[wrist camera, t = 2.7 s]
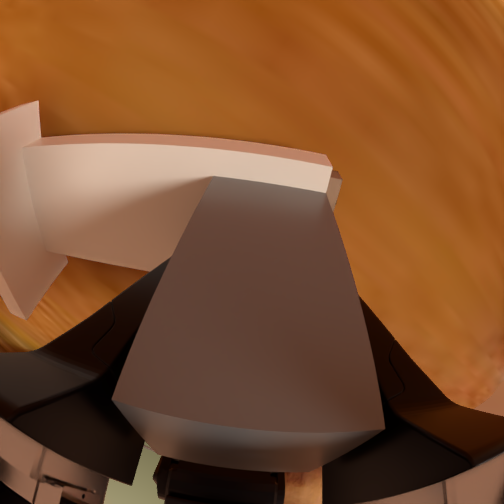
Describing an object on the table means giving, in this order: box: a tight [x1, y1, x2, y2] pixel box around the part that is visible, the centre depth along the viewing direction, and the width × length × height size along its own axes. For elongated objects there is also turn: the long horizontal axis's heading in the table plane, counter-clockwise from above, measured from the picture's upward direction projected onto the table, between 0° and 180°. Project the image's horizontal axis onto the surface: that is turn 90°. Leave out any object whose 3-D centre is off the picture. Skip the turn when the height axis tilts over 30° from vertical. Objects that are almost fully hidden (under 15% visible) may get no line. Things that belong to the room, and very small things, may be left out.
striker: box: [0, 100, 385, 472], centre depth 8 cm, size 10×15×10 cm, turn 83°
